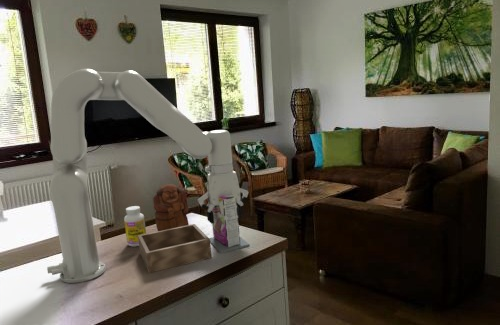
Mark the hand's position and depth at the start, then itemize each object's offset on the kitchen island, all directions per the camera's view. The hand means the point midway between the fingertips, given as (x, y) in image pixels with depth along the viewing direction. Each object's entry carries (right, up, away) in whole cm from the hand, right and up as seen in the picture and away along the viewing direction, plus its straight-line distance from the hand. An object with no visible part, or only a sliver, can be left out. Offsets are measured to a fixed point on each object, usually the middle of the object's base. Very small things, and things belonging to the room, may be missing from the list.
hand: (225, 219), depth 136 cm
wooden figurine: (-20, -7, +17) cm, 27 cm away
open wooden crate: (-16, -11, -5) cm, 20 cm away
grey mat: (+1, -8, +1) cm, 8 cm away
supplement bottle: (-31, -10, +8) cm, 33 cm away
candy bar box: (0, -8, +1) cm, 8 cm away
